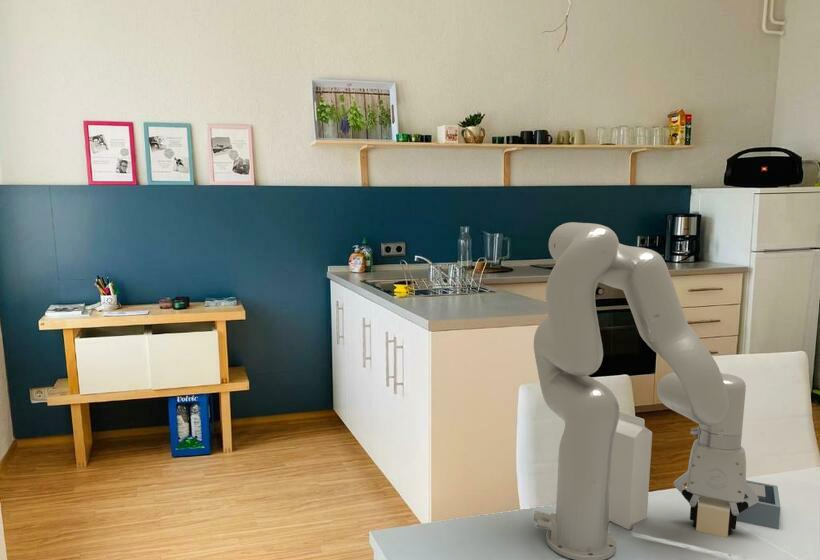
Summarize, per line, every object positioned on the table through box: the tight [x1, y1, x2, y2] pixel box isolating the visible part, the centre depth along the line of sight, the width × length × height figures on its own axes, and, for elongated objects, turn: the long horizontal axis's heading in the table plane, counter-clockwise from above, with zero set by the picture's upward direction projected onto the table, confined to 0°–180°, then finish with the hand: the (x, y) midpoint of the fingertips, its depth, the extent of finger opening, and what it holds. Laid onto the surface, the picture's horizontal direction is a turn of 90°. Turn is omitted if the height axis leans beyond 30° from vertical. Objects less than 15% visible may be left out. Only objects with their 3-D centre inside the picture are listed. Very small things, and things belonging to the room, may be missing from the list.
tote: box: [736, 479, 781, 530], centre depth 135 cm, size 11×11×6 cm
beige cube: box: [695, 496, 730, 538], centre depth 127 cm, size 6×6×6 cm
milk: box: [608, 411, 653, 531], centre depth 131 cm, size 6×6×22 cm
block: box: [744, 482, 766, 503], centre depth 135 cm, size 6×6×5 cm
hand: (712, 526), depth 128 cm, fingers closed on beige cube, 5 cm apart
